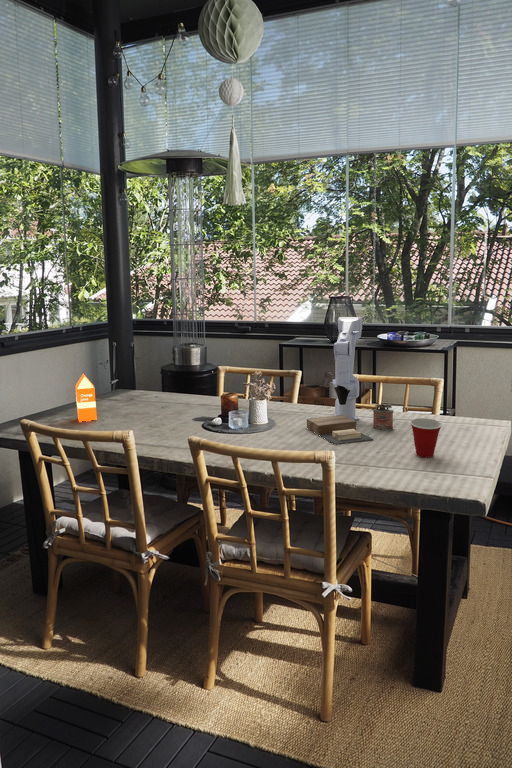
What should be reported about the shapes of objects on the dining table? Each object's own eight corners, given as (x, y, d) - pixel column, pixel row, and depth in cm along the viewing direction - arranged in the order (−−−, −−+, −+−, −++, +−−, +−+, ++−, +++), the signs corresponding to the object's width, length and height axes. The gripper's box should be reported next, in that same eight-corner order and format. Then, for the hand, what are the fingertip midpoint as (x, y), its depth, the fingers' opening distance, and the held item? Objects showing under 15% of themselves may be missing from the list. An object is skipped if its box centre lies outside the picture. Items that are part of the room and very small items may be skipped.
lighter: (372, 428, 267) (372, 404, 265) (373, 426, 270) (373, 402, 268) (392, 429, 265) (392, 405, 263) (393, 427, 268) (394, 403, 266)
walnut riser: (306, 428, 270) (306, 418, 269) (342, 424, 275) (342, 414, 274) (319, 435, 259) (318, 425, 258) (356, 431, 264) (356, 421, 263)
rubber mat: (319, 435, 259) (319, 434, 259) (356, 431, 264) (356, 430, 264) (334, 444, 246) (334, 443, 246) (373, 440, 251) (373, 438, 251)
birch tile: (339, 435, 249) (339, 440, 250) (360, 432, 252) (360, 437, 253) (332, 431, 255) (332, 436, 255) (353, 428, 258) (353, 433, 258)
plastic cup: (422, 462, 224) (423, 427, 221) (402, 453, 233) (403, 420, 231) (448, 457, 228) (449, 423, 225) (428, 449, 238) (429, 416, 235)
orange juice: (95, 416, 300) (92, 372, 296) (97, 420, 291) (94, 375, 287) (77, 417, 297) (74, 373, 293) (78, 422, 289) (75, 376, 285)
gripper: (325, 369, 272) (325, 401, 274) (341, 375, 258) (341, 409, 261) (341, 367, 274) (341, 400, 276) (357, 373, 260) (357, 407, 263)
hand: (342, 404), depth 269 cm, fingers closed
